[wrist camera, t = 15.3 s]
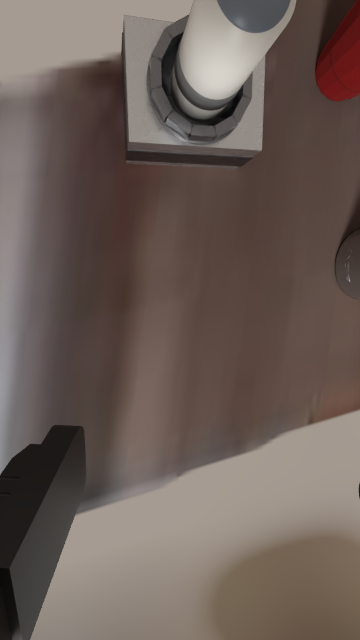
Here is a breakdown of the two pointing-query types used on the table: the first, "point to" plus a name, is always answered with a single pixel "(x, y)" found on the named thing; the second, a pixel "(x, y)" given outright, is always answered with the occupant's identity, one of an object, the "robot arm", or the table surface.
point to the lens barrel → (223, 51)
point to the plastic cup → (341, 59)
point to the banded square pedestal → (164, 117)
